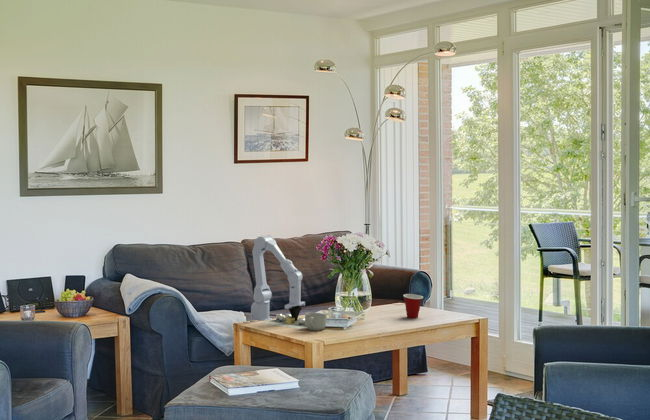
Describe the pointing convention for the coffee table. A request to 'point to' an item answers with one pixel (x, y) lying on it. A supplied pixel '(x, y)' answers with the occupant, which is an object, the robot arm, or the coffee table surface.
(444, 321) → the coffee table surface
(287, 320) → the nut
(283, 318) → the spacers
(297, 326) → the mat
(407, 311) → the plastic cup
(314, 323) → the teacup
